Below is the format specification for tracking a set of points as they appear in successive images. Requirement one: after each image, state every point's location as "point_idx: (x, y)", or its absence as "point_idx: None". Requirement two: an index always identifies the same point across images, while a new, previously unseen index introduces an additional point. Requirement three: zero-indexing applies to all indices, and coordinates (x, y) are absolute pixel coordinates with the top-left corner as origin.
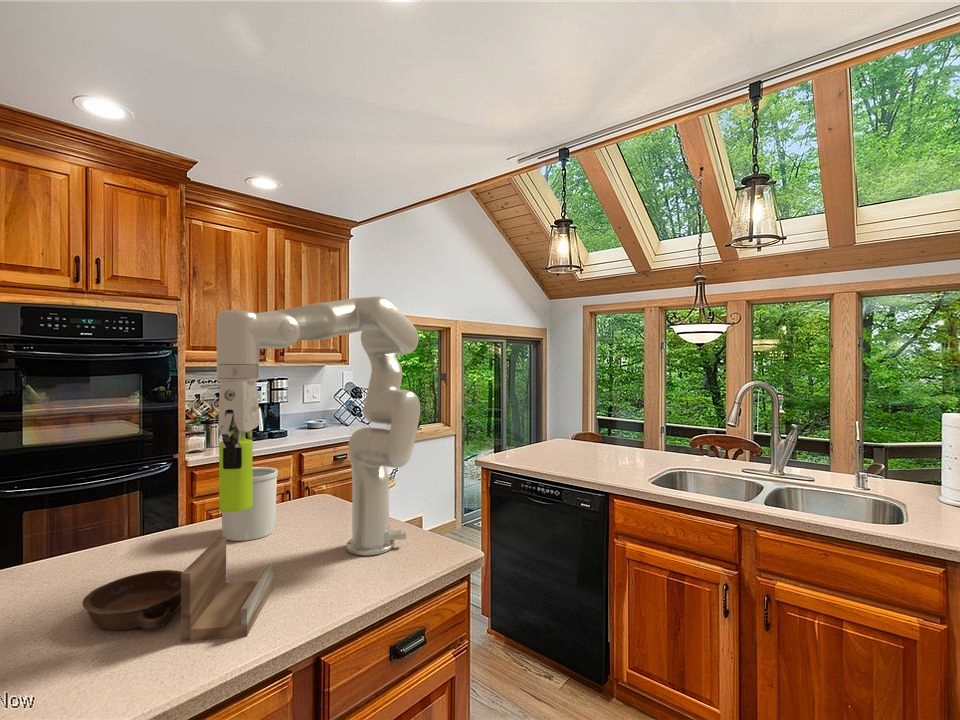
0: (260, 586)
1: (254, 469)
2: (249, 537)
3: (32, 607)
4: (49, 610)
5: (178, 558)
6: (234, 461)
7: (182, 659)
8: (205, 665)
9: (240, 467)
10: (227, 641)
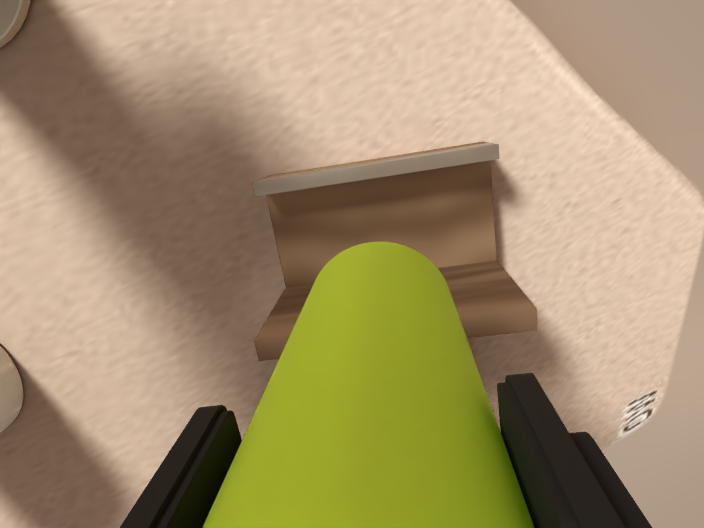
0: (377, 163)
1: None
2: (4, 359)
3: None
4: None
5: (139, 458)
6: (599, 451)
7: (556, 233)
8: (583, 177)
9: (530, 375)
10: (499, 175)
